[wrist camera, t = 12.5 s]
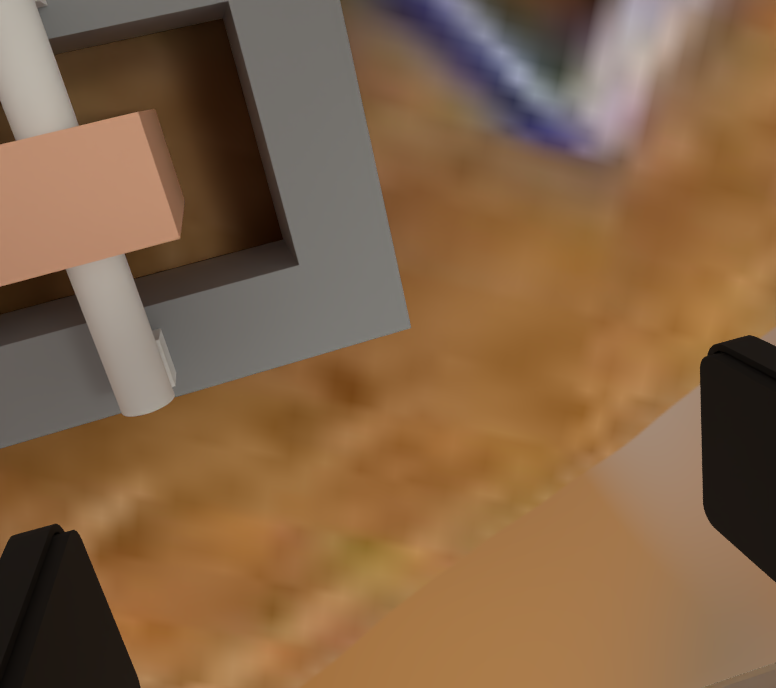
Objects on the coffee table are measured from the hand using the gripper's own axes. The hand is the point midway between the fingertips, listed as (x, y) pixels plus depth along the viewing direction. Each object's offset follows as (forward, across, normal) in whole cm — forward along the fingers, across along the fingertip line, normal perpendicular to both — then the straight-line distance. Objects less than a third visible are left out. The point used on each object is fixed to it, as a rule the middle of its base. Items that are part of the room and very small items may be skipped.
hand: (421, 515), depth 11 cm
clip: (+25, +7, -4) cm, 26 cm away
